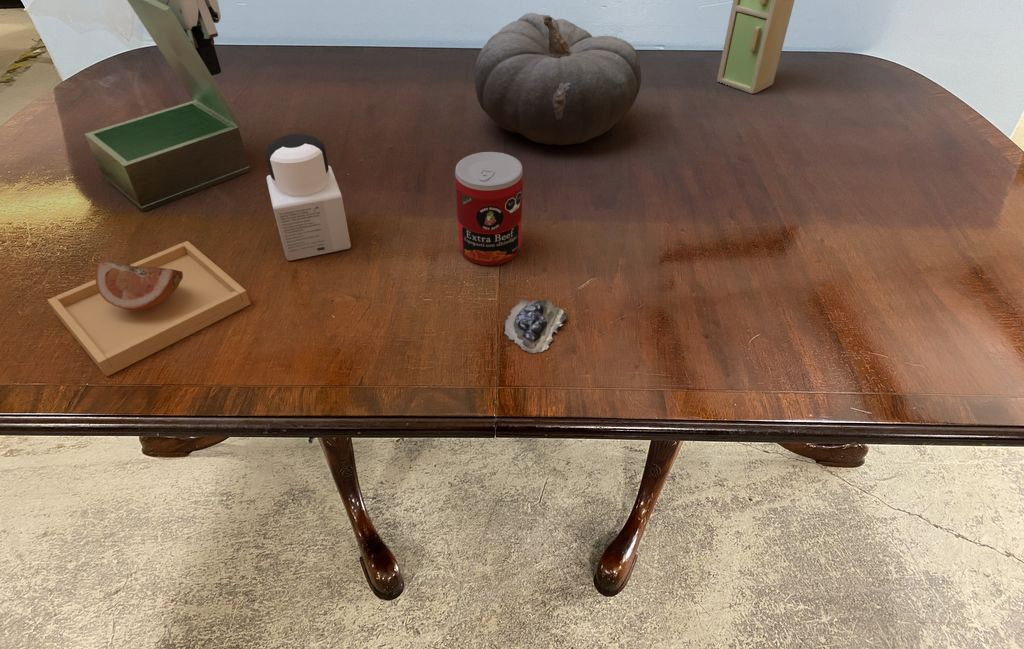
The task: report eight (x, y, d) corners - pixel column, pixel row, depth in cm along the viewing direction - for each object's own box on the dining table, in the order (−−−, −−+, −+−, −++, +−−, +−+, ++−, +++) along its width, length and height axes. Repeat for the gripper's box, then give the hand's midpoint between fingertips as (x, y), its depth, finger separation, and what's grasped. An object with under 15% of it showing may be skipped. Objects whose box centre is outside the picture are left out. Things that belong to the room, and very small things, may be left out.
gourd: (505, 68, 119) (519, -33, 106) (638, 110, 116) (669, 12, 103) (448, 140, 104) (456, 33, 90) (600, 192, 100) (631, 88, 87)
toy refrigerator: (712, 82, 122) (739, -45, 108) (735, 73, 126) (764, -52, 112) (750, 96, 118) (783, -36, 104) (772, 85, 122) (807, -43, 108)
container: (279, 228, 85) (254, 133, 76) (340, 217, 87) (322, 123, 79) (287, 262, 80) (261, 163, 71) (351, 249, 82) (334, 151, 73)
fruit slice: (201, 287, 75) (187, 251, 71) (170, 327, 70) (153, 289, 66) (132, 280, 75) (115, 244, 72) (96, 319, 71) (76, 281, 67)
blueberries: (566, 305, 74) (567, 291, 73) (568, 355, 68) (569, 341, 67) (506, 303, 74) (506, 289, 73) (502, 352, 68) (502, 339, 67)
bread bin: (143, 212, 88) (123, 165, 83) (104, 179, 94) (84, 133, 90) (250, 171, 96) (238, 126, 92) (208, 143, 103) (194, 100, 98)
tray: (106, 377, 65) (98, 362, 64) (55, 313, 72) (47, 299, 71) (250, 304, 74) (246, 290, 72) (192, 254, 81) (187, 240, 79)
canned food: (458, 267, 79) (453, 185, 72) (459, 230, 85) (455, 151, 78) (522, 267, 79) (524, 184, 72) (519, 229, 85) (521, 150, 78)
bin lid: (164, 10, 78) (169, 6, 79) (119, -12, 85) (124, -15, 85) (235, 125, 91) (239, 122, 91) (191, 98, 98) (196, 95, 98)
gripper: (104, -84, 81) (157, 67, 93) (159, -64, 73) (209, 98, 86) (164, -93, 85) (207, 53, 97) (222, -75, 78) (261, 81, 90)
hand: (208, 74), depth 92 cm, fingers closed
